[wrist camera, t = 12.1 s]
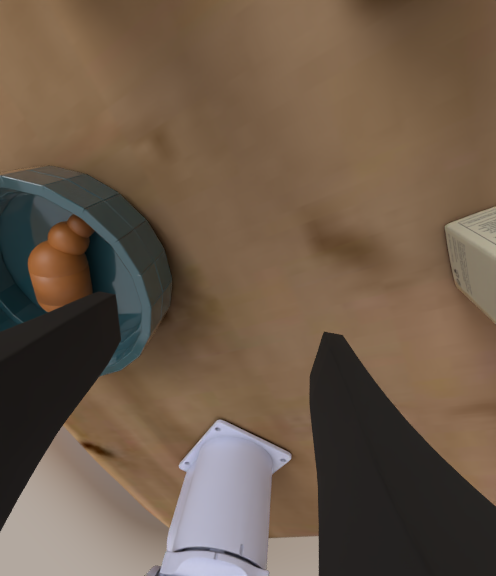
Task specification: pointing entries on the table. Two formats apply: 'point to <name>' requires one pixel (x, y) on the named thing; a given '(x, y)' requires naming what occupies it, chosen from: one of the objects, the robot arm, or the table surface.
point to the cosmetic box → (475, 258)
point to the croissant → (61, 265)
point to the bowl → (100, 254)
